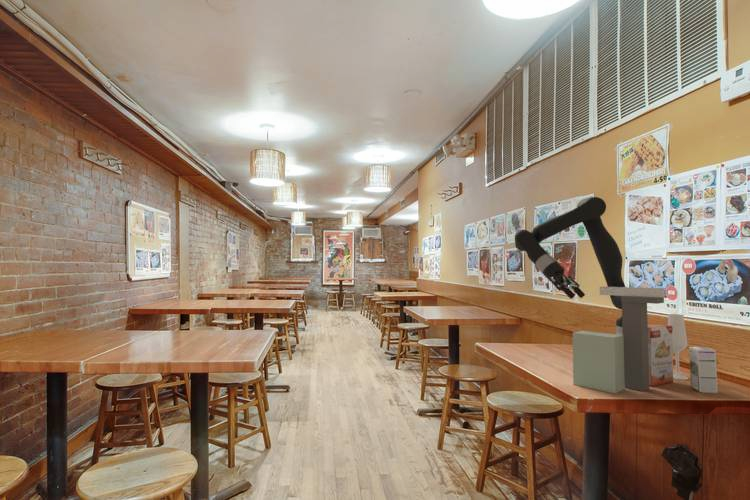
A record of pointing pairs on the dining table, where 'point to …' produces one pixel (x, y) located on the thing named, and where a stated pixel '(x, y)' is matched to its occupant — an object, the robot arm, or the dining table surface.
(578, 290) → the robot arm
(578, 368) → the block
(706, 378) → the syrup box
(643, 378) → the pedestal stand
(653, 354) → the cracker box
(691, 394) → the dining table surface
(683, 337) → the champagne flute
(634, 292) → the aluminium bar
